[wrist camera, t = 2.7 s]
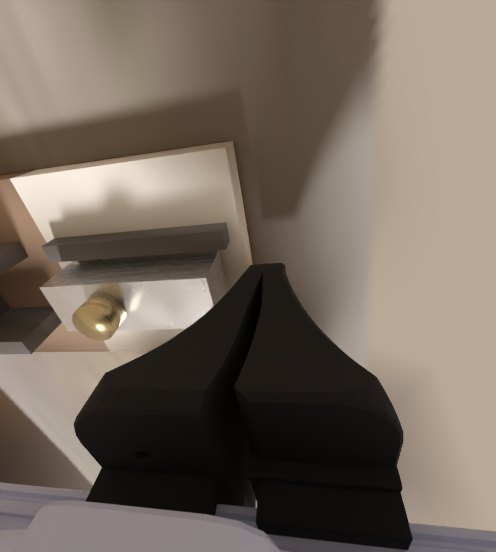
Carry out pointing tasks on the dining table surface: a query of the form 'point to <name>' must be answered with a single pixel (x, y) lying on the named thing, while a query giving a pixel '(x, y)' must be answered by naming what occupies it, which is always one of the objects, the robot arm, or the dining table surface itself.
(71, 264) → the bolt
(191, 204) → the door and jamb
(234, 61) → the dining table surface
